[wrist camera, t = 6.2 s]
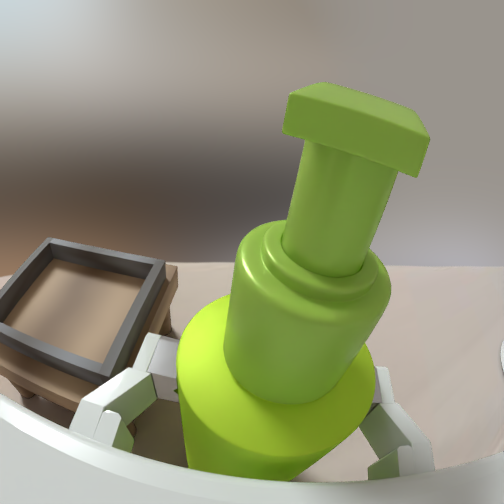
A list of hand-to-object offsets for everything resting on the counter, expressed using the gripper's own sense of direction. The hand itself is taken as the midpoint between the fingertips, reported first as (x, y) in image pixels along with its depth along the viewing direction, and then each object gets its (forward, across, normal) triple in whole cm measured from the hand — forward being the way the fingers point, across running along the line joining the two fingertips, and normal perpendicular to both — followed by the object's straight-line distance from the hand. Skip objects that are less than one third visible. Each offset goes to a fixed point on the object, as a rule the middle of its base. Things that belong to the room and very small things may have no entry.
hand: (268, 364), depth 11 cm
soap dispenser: (-1, 0, -11) cm, 11 cm away
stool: (+4, -12, -11) cm, 17 cm away
